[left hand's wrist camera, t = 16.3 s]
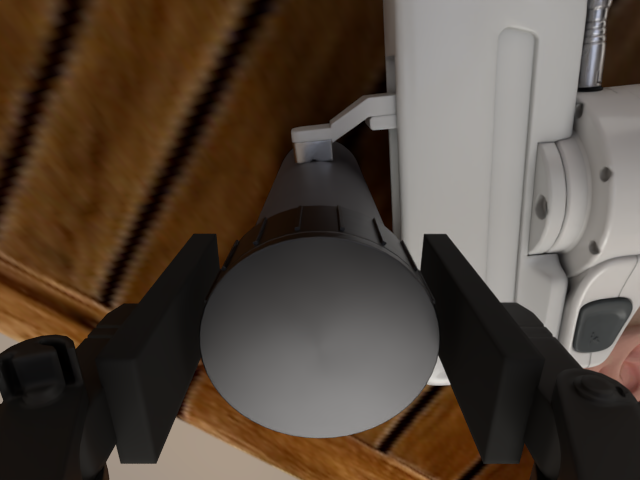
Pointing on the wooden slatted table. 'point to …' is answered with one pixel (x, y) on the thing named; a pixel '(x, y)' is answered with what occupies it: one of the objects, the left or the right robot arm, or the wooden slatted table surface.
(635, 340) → the anatomical model
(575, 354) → the right robot arm
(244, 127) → the wooden slatted table surface
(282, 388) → the lid
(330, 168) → the jar
